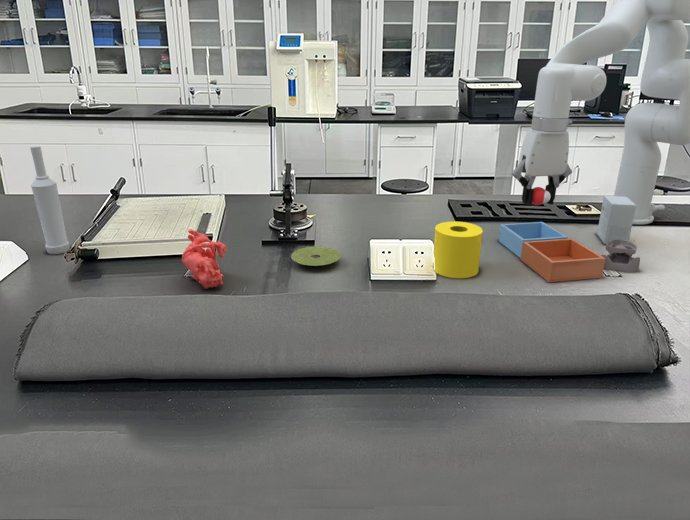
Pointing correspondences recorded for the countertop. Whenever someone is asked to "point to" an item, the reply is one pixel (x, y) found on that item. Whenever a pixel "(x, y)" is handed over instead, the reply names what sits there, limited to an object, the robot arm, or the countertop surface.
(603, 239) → the small box
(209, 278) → the anatomical heart
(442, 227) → the tape roll
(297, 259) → the green sanding disc
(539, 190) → the molecule
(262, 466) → the countertop surface
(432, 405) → the countertop surface
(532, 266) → the bin
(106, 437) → the countertop surface
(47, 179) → the bottle
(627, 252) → the dental mold
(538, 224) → the blue bin
